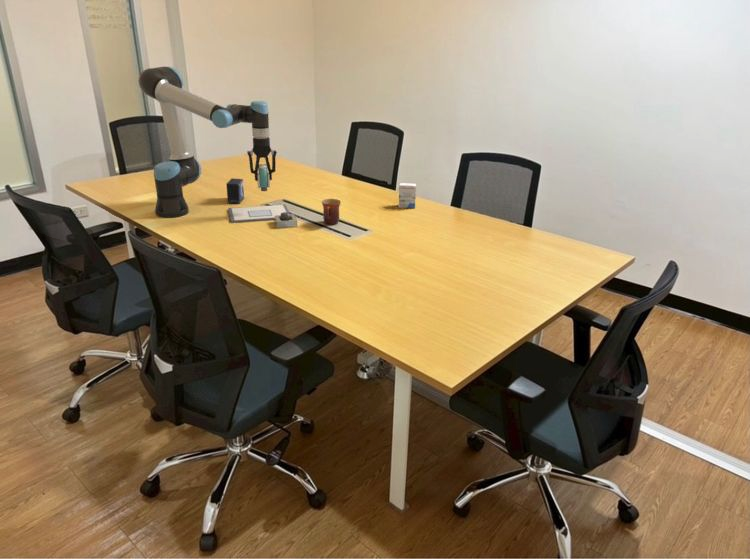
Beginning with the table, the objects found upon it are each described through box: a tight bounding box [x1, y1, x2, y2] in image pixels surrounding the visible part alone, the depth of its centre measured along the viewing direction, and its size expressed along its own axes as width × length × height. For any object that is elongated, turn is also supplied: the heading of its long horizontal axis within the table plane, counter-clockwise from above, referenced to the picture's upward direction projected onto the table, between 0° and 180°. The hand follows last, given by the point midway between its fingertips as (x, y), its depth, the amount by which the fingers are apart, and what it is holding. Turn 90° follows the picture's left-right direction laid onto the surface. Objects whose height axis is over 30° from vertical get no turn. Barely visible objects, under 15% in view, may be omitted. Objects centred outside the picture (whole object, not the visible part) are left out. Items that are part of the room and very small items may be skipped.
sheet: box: [227, 204, 291, 224], centre depth 273 cm, size 28×20×1 cm
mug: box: [321, 198, 342, 226], centre depth 261 cm, size 12×9×10 cm
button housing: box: [274, 213, 298, 229], centre depth 260 cm, size 9×9×3 cm
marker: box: [258, 163, 269, 192], centre depth 265 cm, size 4×4×12 cm
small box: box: [225, 178, 245, 205], centre depth 289 cm, size 11×6×10 cm, turn 179°
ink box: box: [397, 182, 417, 209], centre depth 287 cm, size 9×5×12 cm, turn 84°
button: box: [281, 212, 291, 220], centre depth 259 cm, size 4×4×3 cm
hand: (263, 187), depth 267 cm, fingers closed on marker, 4 cm apart
